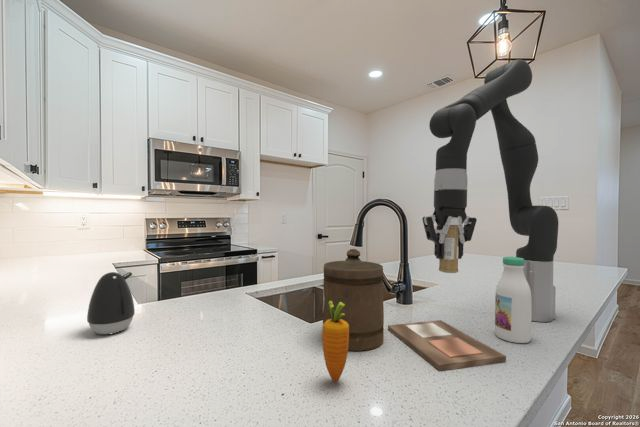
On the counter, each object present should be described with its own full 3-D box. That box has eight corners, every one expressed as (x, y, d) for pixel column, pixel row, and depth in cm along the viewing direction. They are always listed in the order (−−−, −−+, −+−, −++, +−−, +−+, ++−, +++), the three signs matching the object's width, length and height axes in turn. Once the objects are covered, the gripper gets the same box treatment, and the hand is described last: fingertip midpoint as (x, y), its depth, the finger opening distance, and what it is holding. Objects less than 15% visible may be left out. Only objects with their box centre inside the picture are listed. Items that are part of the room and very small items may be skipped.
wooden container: (349, 323, 88) (349, 244, 88) (395, 338, 77) (396, 249, 77) (310, 338, 77) (310, 249, 77) (357, 358, 67) (358, 255, 67)
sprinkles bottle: (462, 272, 76) (463, 217, 76) (450, 274, 74) (452, 217, 74) (445, 269, 80) (447, 216, 80) (434, 270, 78) (435, 216, 78)
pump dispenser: (144, 327, 84) (144, 270, 84) (103, 342, 74) (103, 278, 74) (119, 321, 88) (119, 267, 88) (78, 334, 79) (78, 274, 78)
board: (440, 324, 87) (440, 319, 87) (505, 361, 66) (506, 354, 66) (387, 329, 83) (387, 324, 83) (439, 371, 62) (439, 363, 62)
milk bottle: (525, 334, 81) (526, 256, 80) (535, 346, 73) (536, 260, 73) (492, 330, 83) (493, 254, 83) (498, 341, 76) (499, 259, 76)
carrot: (320, 375, 60) (321, 297, 60) (346, 374, 60) (347, 296, 60) (323, 390, 55) (323, 305, 55) (351, 389, 55) (352, 304, 55)
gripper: (465, 190, 82) (463, 256, 82) (416, 188, 79) (414, 256, 79) (486, 189, 75) (484, 260, 75) (433, 186, 72) (431, 261, 72)
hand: (448, 258), depth 77 cm, fingers closed on sprinkles bottle, 4 cm apart
